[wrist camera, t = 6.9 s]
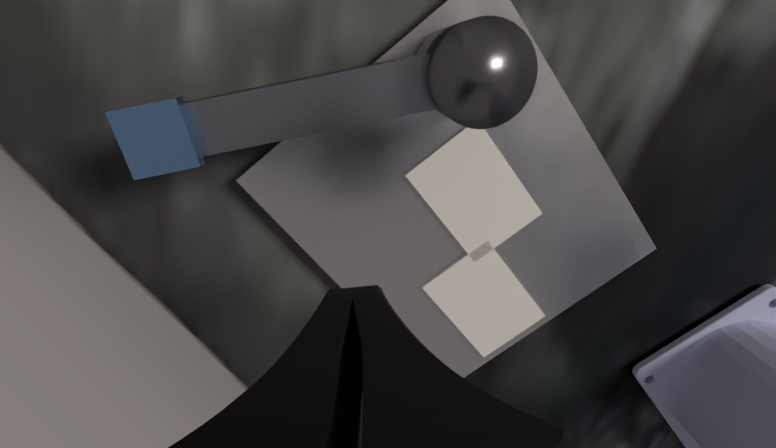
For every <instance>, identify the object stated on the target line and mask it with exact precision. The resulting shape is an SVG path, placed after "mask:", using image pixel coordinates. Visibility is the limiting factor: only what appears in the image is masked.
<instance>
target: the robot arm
mask: <svg viewBox="0 0 776 448" xmlns="http://www.w3.org/2000/svg"><path fill="white" fill-rule="evenodd" d="M632 373H633V375H634V377H635V378H636V379H637V381H638V382H639V384H640V385H641V386H642V388H643V389H644V391H645V392H646V393H647V395H648V396H649V398H650V399H651V400H652V402H653V403H654V405H655V406H656V407H657V409H658V410H659V412H660V413H661V414H662V416H663V417H664V419H665V420H666V421H667V423H668V424H669V426H670V427H671V428H672V430H673V431H674V433H675V434H676V435H677V437H678V438H679V440H680V441H681V442H682V444H683V445H684V447H685V448H776V287H774V286H772V285H769V284H767V285H763V286H761V287H759V288H758V289H756V290H754V291H753V292H751V293H750V294H748V295H746V296H745V297H743V298H742V299H740V300H738V301H737V302H735V303H734V304H732V305H730V306H729V307H727V308H726V309H724V310H722V311H721V312H719V313H718V314H716V315H714V316H713V317H711V318H710V319H708V320H706V321H705V322H703V323H702V324H700V325H698V326H697V327H695V328H694V329H692V330H690V331H689V332H687V333H686V334H684V335H682V336H681V337H679V338H678V339H676V340H674V341H673V342H671V343H670V344H668V345H666V346H665V347H663V348H662V349H660V350H659V351H657V352H655V353H654V354H652V355H651V356H649V357H647V358H646V359H644V360H643V361H641V362H639V363H638V364H636V365H635V366H634V368H633V371H632ZM362 390H363V429H362V448H578V447H577V446H576V445H575V443H574V442H573V441H572V440H571V438H570V437H569V436H568V434H567V433H566V431H564V430H563V429H561V428H558V427H556V426H554V425H552V424H549V423H547V422H545V421H542V420H540V419H538V418H536V417H533V416H531V415H529V414H527V413H524V412H522V411H520V410H518V409H516V408H514V407H512V406H510V405H508V404H506V403H504V402H502V401H501V400H499V399H497V398H495V397H493V396H491V395H489V394H488V393H486V392H484V391H483V390H481V389H479V388H478V387H476V386H475V385H473V384H472V383H470V382H469V381H467V380H466V379H464V378H463V377H461V376H460V375H458V374H457V373H456V372H454V371H453V370H452V369H450V368H449V367H448V366H447V365H445V364H444V363H443V362H442V361H441V360H440V359H438V358H437V357H436V356H435V355H434V354H433V353H432V352H431V351H429V350H428V349H427V348H426V347H425V346H424V345H423V344H422V343H421V342H420V340H419V339H418V338H417V337H416V336H415V335H414V334H413V333H412V332H411V331H410V330H409V328H408V327H407V326H406V325H405V324H404V322H403V321H402V320H401V319H400V317H399V316H398V315H397V313H396V312H395V311H394V309H393V308H392V306H391V305H390V303H389V302H388V300H387V299H386V297H385V295H384V293H383V291H382V288H380V287H379V286H378V285H372V286H361V287H351V288H340V289H330V290H329V291H328V292H327V293H326V295H325V296H324V298H323V300H322V302H321V303H320V305H319V306H318V308H317V310H316V311H315V313H314V314H313V316H312V317H311V319H310V320H309V321H308V323H307V324H306V326H305V327H304V328H303V330H302V331H301V332H300V334H299V335H298V336H297V338H296V339H295V340H294V341H293V343H292V344H291V345H290V346H289V347H288V349H287V350H286V351H285V352H284V353H283V355H282V356H281V357H280V358H279V359H278V360H277V362H276V363H275V364H274V365H273V366H272V367H271V368H270V369H269V370H268V371H267V372H266V373H265V374H264V375H263V376H262V377H261V378H260V379H259V380H258V381H257V382H256V383H255V384H253V385H252V386H251V387H250V388H249V389H248V390H246V391H245V392H244V393H243V394H242V395H241V396H239V397H238V398H237V399H235V400H234V401H233V402H232V403H231V404H229V405H228V406H227V407H226V408H225V409H223V410H222V411H221V412H219V413H218V414H217V415H215V416H214V417H213V418H211V419H210V420H209V421H207V422H206V423H204V424H203V425H202V426H200V427H199V428H197V429H196V430H194V431H193V432H191V433H190V434H188V435H187V436H186V437H184V438H182V439H181V440H180V441H178V442H176V443H175V444H173V445H172V446H170V447H168V448H359V432H360V417H361V400H362Z"/></svg>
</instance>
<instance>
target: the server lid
mask: <svg viewBox="0 0 776 448" xmlns="http://www.w3.org/2000/svg"><path fill="white" fill-rule="evenodd" d="M480 16H498V17H503V18H506V19H508V20H510V21H512V22H514V23H515V24H517V25H518V26H520V27H521V28H522V29H523V30H524V31H525V33H526V34H527V35H528V37H529V38H530V40H531V42H532V44H533V46H534V49H535V52H536V56H537V63H538V72H537V80H536V84H535V87H534V90H533V93H532V95H531V97H530V99H529V100H528V102H527V103H526V105H525V106H524V107H523V109H522V110H521V111H520V112H519V113H518V114H517V115H516V116H515V117H513V118H512V119H511V120H509V121H508V122H506V123H504V124H502V125H499V126H497V127H494V128H489V129H485V131H486V132H487V133H488V135H489V136H490V138H491V139H492V141H493V142H494V144H495V145H496V147H497V148H498V149H499V151H500V152H501V154H502V155H503V157H504V158H505V160H506V161H507V163H508V164H509V165H510V167H511V168H512V170H513V171H514V173H515V174H516V176H517V177H518V178H519V180H520V181H521V183H522V184H523V186H524V187H525V189H526V190H527V192H528V193H529V194H530V196H531V197H532V199H533V200H534V202H535V203H536V205H537V206H538V208H539V209H540V210H541V212H542V213H543V214H541V215H540V216H538V217H537V218H536V219H534V220H533V221H532V222H530V223H529V224H527V225H526V226H525V227H523V228H522V229H520V230H519V231H518V232H516V233H515V234H513V235H512V236H511V237H509V238H508V239H506V240H505V241H504V242H502V243H501V244H500V245H498V246H497V247H495V248H494V250H495V251H496V252H497V254H498V255H499V256H500V257H501V259H502V260H503V261H504V263H505V264H506V265H507V267H508V268H509V269H510V270H511V272H512V273H513V274H514V276H515V277H516V278H517V280H518V281H519V282H520V283H521V285H522V286H523V287H524V289H525V290H526V291H527V293H528V294H529V295H530V296H531V298H532V299H533V300H534V302H535V303H536V304H537V306H538V307H539V308H540V309H541V311H542V312H543V313H544V315H545V317H543V318H542V319H540V320H539V321H538V322H536V323H535V324H533V325H532V326H530V327H529V328H527V329H526V330H524V331H523V332H521V333H520V334H518V335H517V336H515V337H514V338H512V339H511V340H509V341H508V342H506V343H505V344H503V345H502V346H500V347H499V348H497V349H496V350H494V351H493V352H491V353H490V354H488V355H487V356H485V357H483V356H482V355H481V354H480V353H479V352H478V350H477V349H476V348H475V347H474V346H473V345H472V344H471V343H470V341H469V340H468V339H467V338H466V337H465V336H464V335H463V333H462V332H461V331H460V330H459V329H458V328H457V327H456V326H455V324H454V323H453V322H452V321H451V320H450V319H449V318H448V317H447V315H446V314H445V313H444V312H443V311H442V310H441V309H440V308H439V306H438V305H437V304H436V303H435V302H434V301H433V300H432V299H431V297H430V296H429V295H428V294H427V293H426V292H425V291H424V290H423V288H422V285H423V284H424V283H426V282H427V281H428V280H430V279H431V278H433V277H434V276H435V275H437V274H438V273H439V272H441V271H442V270H444V269H445V268H446V267H448V266H449V265H450V264H452V263H453V262H455V261H456V260H457V259H459V258H460V257H461V256H463V255H464V254H466V253H467V252H466V251H465V250H464V248H463V247H462V246H461V245H460V243H459V242H458V241H457V240H456V238H455V237H454V236H453V235H452V233H451V232H450V231H449V230H448V228H447V227H446V226H445V225H444V223H443V222H442V221H441V220H440V218H439V217H438V216H437V215H436V213H435V212H434V211H433V210H432V208H431V207H430V206H429V205H428V203H427V202H426V201H425V200H424V198H423V197H422V196H421V195H420V193H419V192H418V191H417V190H416V188H415V187H414V186H413V185H412V183H411V182H410V181H409V180H408V179H407V177H406V176H405V174H406V173H407V172H408V171H409V170H411V169H412V168H413V167H415V166H416V165H417V164H418V163H420V162H421V161H422V160H424V159H425V158H426V157H427V156H429V155H430V154H431V153H432V152H434V151H435V150H436V149H438V148H439V147H440V146H441V145H443V144H444V143H445V142H446V141H448V140H449V139H450V138H452V137H453V136H454V135H455V134H457V133H458V132H459V131H460V130H462V129H463V128H464V126H462V125H460V124H458V123H456V122H454V121H453V120H451V119H449V118H448V117H446V116H444V115H443V114H441V113H439V112H438V111H436V110H431V111H426V112H421V113H416V114H411V115H406V116H401V117H396V118H391V119H386V120H381V121H377V122H372V123H367V124H362V125H357V126H352V127H347V128H342V129H337V130H332V131H327V132H322V133H317V134H313V135H308V136H303V137H298V138H293V139H288V140H283V141H280V142H279V143H278V144H277V145H276V146H275V147H273V148H272V149H271V150H270V151H269V152H267V153H266V154H265V155H264V156H263V157H262V158H260V159H259V160H258V161H257V162H256V163H255V164H253V165H252V166H251V167H250V168H249V169H248V170H246V171H245V172H244V173H243V174H242V175H240V177H239V178H238V179H237V180H236V181H237V182H238V183H239V184H240V185H241V186H242V187H243V188H244V189H245V190H246V191H247V192H248V193H249V195H250V196H251V197H252V198H253V199H254V200H255V201H256V202H257V203H258V204H259V205H260V206H261V207H262V208H263V209H264V210H265V211H266V212H267V213H268V214H269V215H270V216H271V217H272V218H273V219H274V220H275V221H276V222H277V223H278V224H279V225H280V226H281V227H282V228H283V229H284V230H285V231H286V232H287V233H288V234H289V235H290V236H291V237H292V238H293V239H294V240H295V241H296V242H297V243H298V244H299V246H300V247H301V248H302V249H303V250H304V251H305V252H306V253H307V254H308V255H309V256H310V257H311V258H312V259H313V260H314V261H315V262H316V263H317V264H318V265H319V266H320V267H321V268H322V269H323V270H324V271H325V272H326V273H327V274H328V275H329V276H330V277H331V278H332V279H333V280H334V281H335V282H336V283H337V284H338V285H339V286H340V287H341V288H351V287H361V286H372V285H378V286H379V287H380V288H382V291H383V293H384V295H385V297H386V299H387V300H388V302H389V303H390V305H391V306H392V308H393V309H394V311H395V312H396V313H397V315H398V316H399V317H400V319H401V320H402V321H403V322H404V324H405V325H406V326H407V327H408V328H409V330H410V331H411V332H412V333H413V334H414V335H415V336H416V337H417V338H418V339H419V340H420V342H421V343H422V344H423V345H424V346H425V347H426V348H427V349H428V350H429V351H431V352H432V353H433V354H434V355H435V356H436V357H437V358H438V359H440V360H441V361H442V362H443V363H444V364H445V365H447V366H448V367H449V368H450V369H452V370H453V371H454V372H456V373H457V374H458V375H460V376H461V377H463V378H464V377H465V376H467V375H468V374H470V373H471V372H473V371H474V370H476V369H477V368H479V367H480V366H482V365H483V364H485V363H486V362H488V361H489V360H491V359H492V358H494V357H495V356H497V355H498V354H500V353H501V352H503V351H504V350H506V349H507V348H509V347H510V346H512V345H513V344H515V343H516V342H518V341H519V340H521V339H522V338H524V337H525V336H527V335H528V334H530V333H531V332H533V331H534V330H536V329H537V328H539V327H540V326H542V325H543V324H545V323H546V322H548V321H549V320H551V319H552V318H554V317H555V316H557V315H558V314H560V313H561V312H563V311H564V310H566V309H567V308H568V307H570V306H571V305H573V304H574V303H576V302H577V301H579V300H580V299H582V298H583V297H585V296H586V295H588V294H589V293H591V292H592V291H594V290H595V289H597V288H598V287H600V286H601V285H603V284H604V283H606V282H607V281H609V280H610V279H612V278H613V277H615V276H616V275H618V274H619V273H621V272H622V271H624V270H625V269H627V268H628V267H630V266H631V265H633V264H634V263H636V262H637V261H639V260H640V259H642V258H643V257H645V256H646V255H648V254H649V253H651V252H652V251H654V250H655V249H656V247H655V245H654V243H653V242H652V240H651V238H650V237H649V235H648V233H647V232H646V230H645V228H644V226H643V225H642V223H641V221H640V220H639V218H638V216H637V215H636V213H635V211H634V209H633V208H632V206H631V204H630V203H629V201H628V199H627V198H626V196H625V194H624V193H623V191H622V189H621V187H620V186H619V184H618V182H617V181H616V179H615V177H614V176H613V174H612V172H611V170H610V169H609V167H608V165H607V164H606V162H605V160H604V159H603V157H602V155H601V153H600V152H599V150H598V148H597V147H596V145H595V143H594V142H593V140H592V138H591V137H590V135H589V133H588V131H587V130H586V128H585V126H584V125H583V123H582V121H581V120H580V118H579V116H578V114H577V113H576V111H575V109H574V108H573V106H572V104H571V103H570V101H569V99H568V98H567V96H566V94H565V92H564V91H563V89H562V87H561V86H560V84H559V82H558V81H557V79H556V77H555V75H554V74H553V72H552V70H551V69H550V67H549V65H548V64H547V62H546V60H545V58H544V57H543V55H542V53H541V52H540V50H539V48H538V47H537V45H536V43H535V42H534V40H533V38H532V36H531V35H530V33H529V31H528V30H527V28H526V26H525V25H524V23H523V21H522V19H521V18H520V16H519V14H518V13H517V11H516V9H515V8H514V6H513V4H512V3H511V1H510V0H446V1H445V2H444V3H443V4H441V5H440V6H439V7H438V8H437V9H436V10H434V11H433V12H432V13H431V14H430V15H429V16H427V17H426V18H425V19H424V20H423V21H421V22H420V23H419V24H418V25H417V26H416V27H414V28H413V29H412V30H411V31H410V32H409V33H407V34H406V35H405V36H404V37H403V38H401V39H400V40H399V41H398V42H397V43H396V44H394V45H393V46H392V47H391V48H390V49H389V50H387V51H386V52H385V53H384V54H383V55H382V56H380V57H379V58H378V59H377V60H376V61H374V62H373V63H372V64H374V63H379V62H384V61H389V60H394V59H399V58H404V57H409V56H414V55H416V54H417V52H418V50H419V48H420V46H421V45H422V43H423V42H424V41H425V40H426V39H427V38H428V37H429V36H430V35H431V34H433V33H434V32H436V31H437V30H440V29H442V28H445V27H448V26H451V25H454V24H457V23H460V22H463V21H466V20H469V19H472V18H476V17H480Z"/></svg>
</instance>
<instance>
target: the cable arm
mask: <svg viewBox="0 0 776 448" xmlns="http://www.w3.org/2000/svg"><path fill="white" fill-rule="evenodd" d="M537 72H538V63H537V56H536V52H535V49H534V46H533V44H532V42H531V40H530V38H529V37H528V35H527V34H526V33H525V31H524V30H523V29H522V28H521V27H520V26H518V25H517V24H515V23H514V22H512V21H510V20H508V19H506V18H503V17H498V16H480V17H476V18H472V19H469V20H466V21H463V22H460V23H457V24H454V25H451V26H448V27H445V28H442V29H440V30H437V31H436V32H434V33H433V34H431V35H430V36H429V37H428V38H427V39H426V40H425V41H424V42H423V43H422V45H421V46H420V48H419V50H418V52H417V54H416V55H414V56H409V57H404V58H399V59H394V60H389V61H384V62H379V63H374V64H369V65H364V66H360V67H355V68H350V69H345V70H340V71H335V72H330V73H325V74H320V75H315V76H310V77H305V78H300V79H295V80H290V81H285V82H280V83H275V84H270V85H265V86H260V87H255V88H250V89H245V90H241V91H236V92H231V93H226V94H221V95H216V96H211V97H206V98H201V99H196V100H191V101H186V102H184V100H183V97H178V98H173V99H168V100H163V101H158V102H153V103H148V104H143V105H138V106H133V107H128V108H123V109H118V110H113V111H109V112H105V113H106V115H107V118H108V120H109V122H110V125H111V127H112V130H113V132H114V134H115V137H116V139H117V141H118V144H119V146H120V149H121V151H122V153H123V156H124V158H125V160H126V163H127V165H128V167H129V170H130V172H131V175H132V177H133V179H134V180H138V179H143V178H148V177H152V176H157V175H162V174H167V173H172V172H177V171H182V170H187V169H192V168H197V167H201V166H202V165H203V164H205V160H204V156H209V155H214V154H219V153H224V152H229V151H234V150H239V149H244V148H248V147H253V146H258V145H263V144H268V143H273V142H278V141H283V140H288V139H293V138H298V137H303V136H308V135H313V134H317V133H322V132H327V131H332V130H337V129H342V128H347V127H352V126H357V125H362V124H367V123H372V122H377V121H381V120H386V119H391V118H396V117H401V116H406V115H411V114H416V113H421V112H426V111H431V110H436V111H438V112H439V113H441V114H443V115H444V116H446V117H448V118H449V119H451V120H453V121H454V122H456V123H458V124H460V125H462V126H464V127H468V128H471V129H489V128H494V127H497V126H499V125H502V124H504V123H506V122H508V121H509V120H511V119H512V118H513V117H515V116H516V115H517V114H518V113H519V112H520V111H521V110H522V109H523V107H524V106H525V105H526V103H527V102H528V100H529V99H530V97H531V95H532V93H533V90H534V87H535V84H536V80H537Z"/></svg>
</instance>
